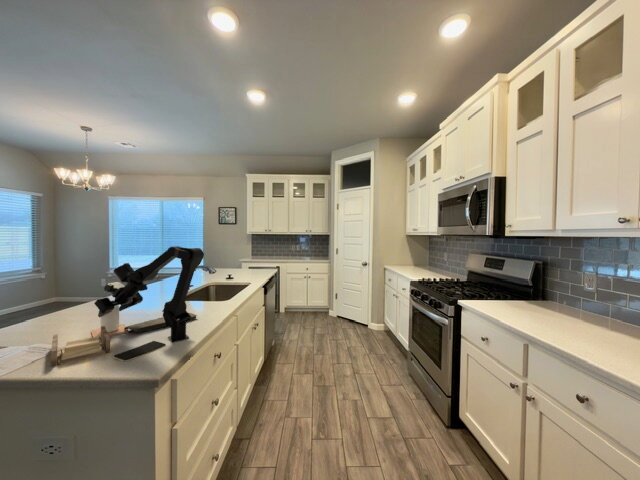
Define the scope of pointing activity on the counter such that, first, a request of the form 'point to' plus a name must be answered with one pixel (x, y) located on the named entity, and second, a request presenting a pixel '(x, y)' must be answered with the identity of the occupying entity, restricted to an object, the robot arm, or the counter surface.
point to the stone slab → (152, 324)
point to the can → (111, 320)
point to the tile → (121, 330)
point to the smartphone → (139, 351)
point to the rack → (80, 348)
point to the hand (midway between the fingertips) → (109, 313)
